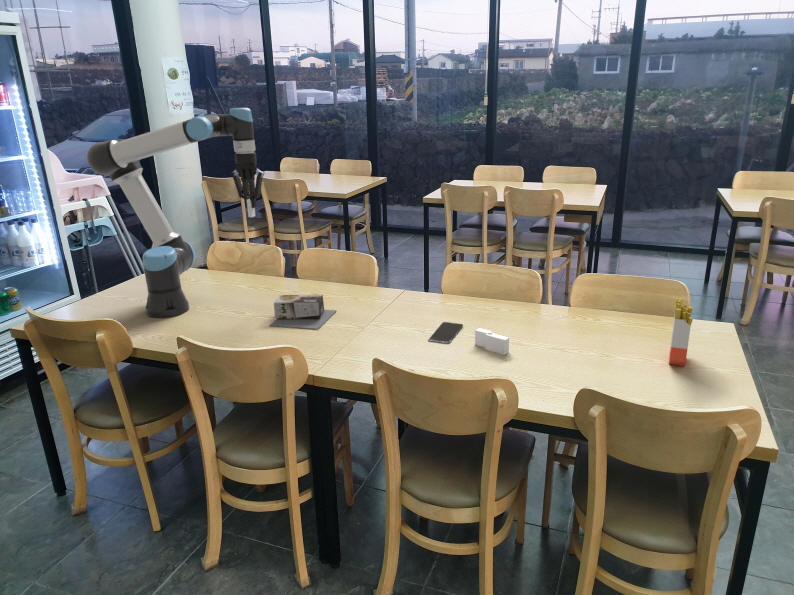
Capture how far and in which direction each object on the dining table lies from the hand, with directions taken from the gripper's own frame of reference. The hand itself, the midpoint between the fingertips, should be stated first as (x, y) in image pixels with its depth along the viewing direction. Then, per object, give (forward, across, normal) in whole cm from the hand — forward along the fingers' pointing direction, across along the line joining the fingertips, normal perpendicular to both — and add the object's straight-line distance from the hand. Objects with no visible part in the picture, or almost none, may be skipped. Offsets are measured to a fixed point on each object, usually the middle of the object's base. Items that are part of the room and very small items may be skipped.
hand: (251, 216), depth 229 cm
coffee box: (+29, +16, -18) cm, 37 cm away
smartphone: (+33, +78, -22) cm, 87 cm away
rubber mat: (+32, +26, -18) cm, 45 cm away
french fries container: (+33, +147, -29) cm, 153 cm away
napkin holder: (+33, +94, -30) cm, 104 cm away
